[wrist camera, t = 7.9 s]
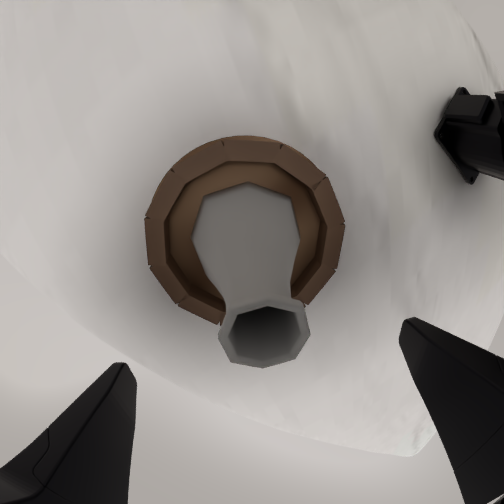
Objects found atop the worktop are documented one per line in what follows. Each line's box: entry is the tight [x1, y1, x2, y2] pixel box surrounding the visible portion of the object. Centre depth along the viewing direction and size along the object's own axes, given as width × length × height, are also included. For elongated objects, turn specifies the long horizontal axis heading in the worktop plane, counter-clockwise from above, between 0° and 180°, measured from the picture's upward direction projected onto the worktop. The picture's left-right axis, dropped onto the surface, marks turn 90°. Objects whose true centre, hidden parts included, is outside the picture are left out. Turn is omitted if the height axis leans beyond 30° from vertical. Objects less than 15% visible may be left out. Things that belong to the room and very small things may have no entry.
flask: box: [191, 181, 310, 368], centre depth 14 cm, size 7×7×10 cm
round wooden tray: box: [144, 136, 345, 326], centre depth 18 cm, size 13×13×2 cm
